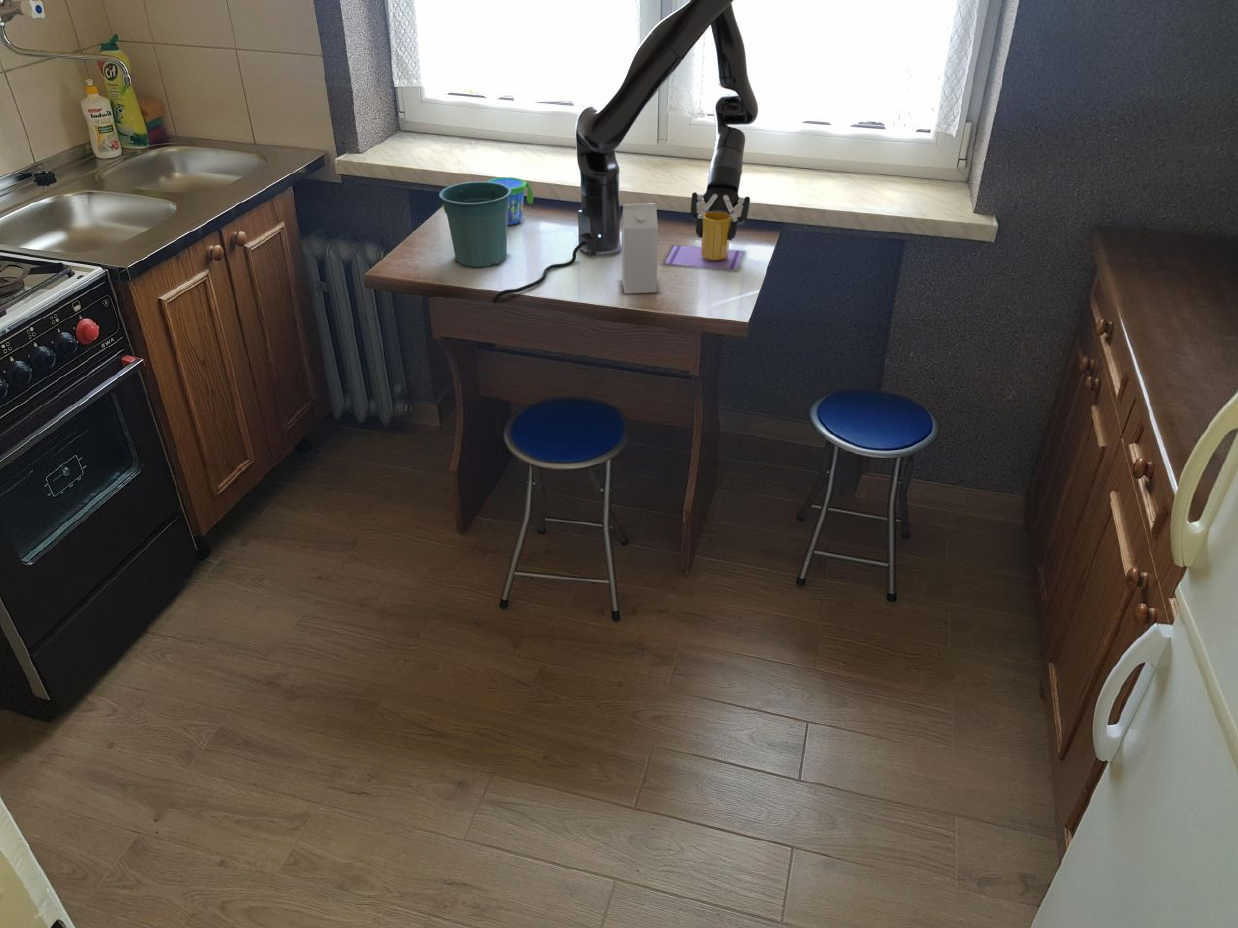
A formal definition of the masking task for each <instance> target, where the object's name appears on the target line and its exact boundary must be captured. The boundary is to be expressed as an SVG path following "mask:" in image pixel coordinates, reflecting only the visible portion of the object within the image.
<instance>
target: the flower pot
mask: <svg viewBox="0 0 1238 928" xmlns="http://www.w3.org/2000/svg"><path fill="white" fill-rule="evenodd" d="M510 193H511V189H510V188H509V187H508V186H506V185H504V184H500V183H495V182H486V181H466V182H460V183H456V184H452V185H450V186H449V185H448V186H447V187H445V188H443V189H442V190H441V191H439V193H438V197H439V199H440V200H441V201H442V204H443V205H442V207H443V209H444V213H445V214H446V217H447V223H448V227H449V233H450V237H451V242H452V245H453V246H452V247H453V252H454V256H455V261H456V262H458V263H460V265H462V266H466V267H469V268H470V267H471V268H484V267H490V266H491V265H493V264H495V265H498V264H500V263H503V262H504V261H505V260H506V259H507V256H508V225H507V210H508V208H509V195H510Z"/></svg>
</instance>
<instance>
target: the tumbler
mask: <svg viewBox="0 0 1238 928" xmlns="http://www.w3.org/2000/svg"><path fill="white" fill-rule="evenodd" d="M730 224H731V216H730V214H728V213H725V212H720V211H719V212H718V211H712V212H707V213H705V214H703V219H702V237H701V238H700V239H701V241H700V242H701V243H700V247H701V256H702V257H704V258H705V259H710V260H721V259H725V258H727V257H728V253H729V250H730V240H729V231H730Z"/></svg>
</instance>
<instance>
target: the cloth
mask: <svg viewBox="0 0 1238 928" xmlns="http://www.w3.org/2000/svg"><path fill="white" fill-rule="evenodd" d="M743 253H744V250H738V249H737V250H736V249H729V253H728V257H727V258H725V259H721V260H710V259H705V258H704V257H702V256H701V246H700V247H699V246H689V245H676V244H674V245H673V247H672V249H671V251H670V253H669V255H668V257H667V258H666V260H665V262H664V264H665V265H677V266H686V267H687V266H688V267H698V268H708V269H709V268H710V269H721V270H731V271H732V270H733V271H737V270H738V268H739V265H740V262H741V259H742V256H743Z"/></svg>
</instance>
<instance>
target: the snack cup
mask: <svg viewBox="0 0 1238 928" xmlns="http://www.w3.org/2000/svg"><path fill="white" fill-rule="evenodd" d="M485 182H495V183H500V184H504V185H506V186H508V187H509V188H510V189H511V193H510V195H509V208H508V210H507V227H508V226H513V225H517V224H518V223H519V224H520V223H521V222H522V219H523V213H524V211H523V210H524V200H525V199H524V196H525V192H526V189H527V192H526V202H527V203H528V204H529V205H531V204H533V202H534V193H533V189H532V186H531V185H530V184H529V183H528V182H526V181H525V180H523V179H522V178H519V177H513V176H512V177H511V176H507V177H506V176H505V177H503V176H502V177H495V178H491V179H488V180H487V181H485Z"/></svg>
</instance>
